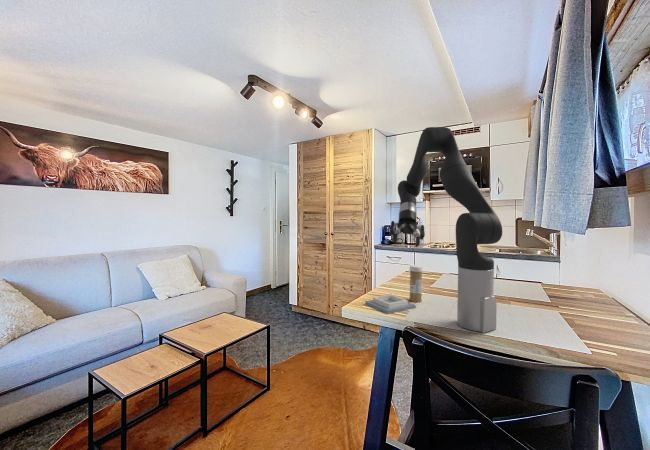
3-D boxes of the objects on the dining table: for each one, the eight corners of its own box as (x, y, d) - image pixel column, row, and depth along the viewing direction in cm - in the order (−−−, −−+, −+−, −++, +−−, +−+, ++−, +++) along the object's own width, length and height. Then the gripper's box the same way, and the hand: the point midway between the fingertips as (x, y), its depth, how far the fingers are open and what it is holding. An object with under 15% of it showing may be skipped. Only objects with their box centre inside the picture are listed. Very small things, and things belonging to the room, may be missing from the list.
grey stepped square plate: (415, 307, 97) (415, 300, 97) (387, 313, 91) (387, 306, 91) (391, 298, 108) (392, 292, 108) (365, 303, 102) (365, 297, 101)
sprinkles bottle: (407, 299, 108) (407, 264, 107) (418, 298, 108) (418, 264, 108) (413, 302, 103) (413, 267, 103) (424, 302, 104) (424, 266, 104)
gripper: (392, 206, 122) (389, 236, 112) (426, 211, 119) (426, 241, 110) (390, 217, 128) (387, 246, 118) (422, 222, 125) (421, 251, 116)
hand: (406, 244), depth 114 cm, fingers open, 8 cm apart
